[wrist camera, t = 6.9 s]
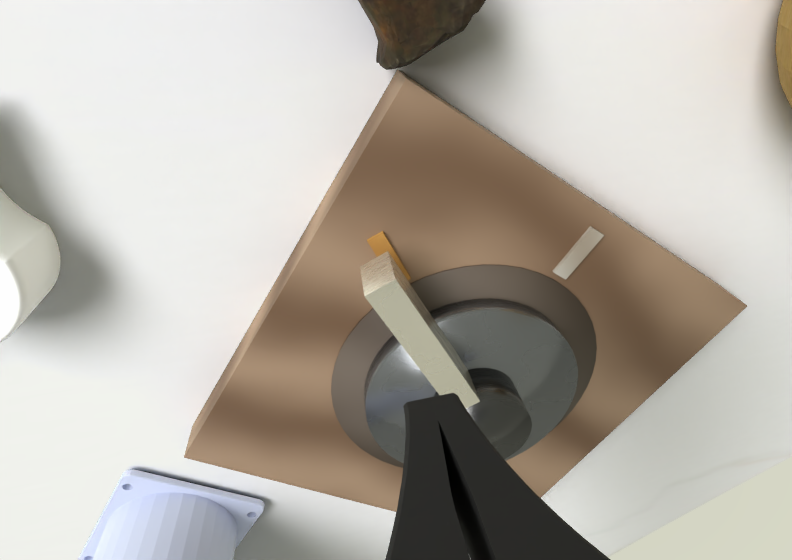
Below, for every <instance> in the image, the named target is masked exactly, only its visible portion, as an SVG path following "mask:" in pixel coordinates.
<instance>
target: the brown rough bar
mask: <svg viewBox="0 0 792 560" xmlns="http://www.w3.org/2000/svg"><path fill="white" fill-rule="evenodd" d="M358 1H359V3H360V4H361V6H362V8H363V9H364V11H365V13H366V14H367V16H368V18H369V20H370V21H371V23H372V25H373V27H374V30H375V33H376V36H377V39H378V48H377V57H376V61H377V63H379V64H380V66H382V67H383V68H385V69H386V70H389V69H396V68H399V67H402V66H405V65H408V64H410V63H412V62H413V61H415V60H417V59H418V58H420V57H421V56H423V55H424V54H426V53H427V52H429V51H430V50H432V49H433V48H435V47H436V46H438V45H439V44H441V43H443V42H444V41H446V40H448V39H449V38H451V37H453V36H455V35H456V34H458V33H460V32H462V31H463V30H464V29H465V28H466V26H467V25H468V23H469V21H470V20H471V18H472V16H473V15H474V14H476V13H477V12H479V10H480V8H481V7H482V5H483V4H484V2H485V1H486V0H358Z"/></svg>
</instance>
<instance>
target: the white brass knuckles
mask: <svg viewBox="0 0 792 560" xmlns="http://www.w3.org/2000/svg"><path fill="white" fill-rule="evenodd" d="M60 265H61V258H60V251H59V247H58V243H57V241H56V238H55V236H54V234H53V232H52V230H51V228H50V226H49V225H48V224H47V223H45V222H43V221H41V220H39V219H37V218H35V217H33V216H32V215H30V214H29V213H27V212H26V211H24V210H23V209H22V208H20V207H19V206H18V205H17V204H16V203H14V202H13V201H12V200H11V199H10V198H9V197H8V196H7V195H6V194H5V193H4V191H3V190H2V189H1V188H0V342H2V341H4V340H5V339H7V338H8V337H9V336H10V335H12V334H13V333H14V332H15V331H16V330H17V329H18V327H19V326H20V325H21V324H22V323H23V322H24V321H25V319H26V318H27V317H28V316H29V315H30V314H31V312H32V311H33V310H34V309H35V308H36V307H37V305H38V304H39V303H40V302H41V301H42V300H43V299H44V297H45V296H46V295H47V294H48V293H49V292H50V290H51V289H52V288H53V286H54V285H55V283H56V281H57V279H58V276H59V272H60Z"/></svg>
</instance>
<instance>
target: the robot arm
mask: <svg viewBox="0 0 792 560" xmlns="http://www.w3.org/2000/svg"><path fill="white" fill-rule="evenodd" d="M403 408H404V414H405V428H406V435H405V454H404V464H403V474H402V482H401V488H400V494H399V500H398V506H397V512H396V517H395V522H394V526H393V531H392V535H391V539H390V544H389V548H388V552H387V556H386V559H385V560H470V559H471V560H610V559H609V558H608V557H606V556H605V555H604V554H603V553H602V552H600V551H599V550H598V549H597V548H595V547H594V546H593V545H592V544H590V543H589V542H588V541H587V540H586V539H584V538H583V537H582V536H581V535H579V534H578V533H577V532H576V531H575V530H574V529H573V528H572V527H570V526H569V525H568V524H567V523H566V522H565V521H564V520H563V519H562V518H560V517H559V516H558V515H557V514H556V513H555V512H554V511H553V510H552V509H551V508H550V507H549V506H548V505H547V504H546V503H545V502H544V501H543V500H542V499H541V498H540V497H539V496H538V495H537V494H536V493H535V492H534V491H533V490H532V489H531V488H530V487H529V486H528V485H527V484H526V483H525V482H524V481H523V480H522V479H521V478H520V476H519V475H518V474H517V473H516V472H515V471H514V470H513V469H512V468H511V467H510V465H509V464H508V463H507V462H506V461H505V460H504V458H503V457H502V456H501V455H500V454H499V452H498V451H497V450H496V449H495V448H494V446H493V445H492V444H491V443H490V441H489V440H488V439H487V438H486V436H485V435H484V434H483V432H482V431H481V430H480V428H479V427H478V426H477V424H476V423H475V422H474V420H473V419H472V417H471V416H470V414H469V413H468V411H467V410H466V408H465V407H464V405H463V403H462V402H461V400H460V398H459V397H458V395H456V394H455V393H449V394H444V395H439V396H434V397H429V398H424V399H419V400H414V401H409V402H407V403H406V404H405V405H404V406H403ZM264 506H265V504H264V502H263V501H262V500H260V499H256V498H252V497H248V496H244V495H239V494H235V493H231V492H227V491H223V490H218V489H214V488H210V487H206V486H202V485H197V484H193V483H189V482H185V481H181V480H176V479H172V478H168V477H164V476H159V475H155V474H151V473H147V472H143V471H138V470H133V469H132V470H127V471H125V472H124V473H123V474H122V476H121V478H120V480H119V482H118V484H117V486H116V488H115V489H114V491H113V493H112V495H111V497H110V499H109V501H108V503H107V505H106V507H105V509H104V511H103V512H102V514H101V516H100V518H99V520H98V522H97V524H96V526H95V528H94V530H93V532H92V534H91V535H90V537H89V539H88V541H87V543H86V545H85V547H84V549H83V551H82V553H81V555H80V557H79V558H78V560H233V559H234V552H235V549H236V548H237V546H238V545H239V544H240V542H241V541H242V539H243V538H244V537H245V535H246V534H247V533H248V531H249V530H250V529H251V527H252V526H253V524H254V523H255V522H256V520H257V519H258V518H259V516H260V515H261V514H262V512H263V511H264ZM468 553H469V554H468ZM469 556H470V557H469Z"/></svg>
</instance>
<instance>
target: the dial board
mask: <svg viewBox="0 0 792 560" xmlns="http://www.w3.org/2000/svg"><path fill="white" fill-rule="evenodd" d="M387 251H388V252H389V254H390V255H391V256H392V258H393V259H394V261H395V262H396V264H397V265H398V267H399V268H400V270H401V271H402V273H403V274H404V276H405V277H406V279H407V280H408V282H409V283H410V285H411V286H412V288H413V289H414V290H415V292H416V293H417V295H418V296H419V298H420V299H421V301H422V302H423V304H424V305H425V307H426V308H427V310H428V311H431V310H433V309H436V308H439V307H442V306H444V305H447V304H451V303H455V302H459V301H464V300H472V299H490V298H493V299H503V300H509V301H514V302H518V303H521V304H524V305H527V306H529V307H532V308H534V309H535V310H537V311H539V312H541V313H542V314H544V315H545V316H546V317H547V318H549V319H550V320H551V321H552V322H553V323H554V324H555V326H556V327H557V328H558V329H559V330H560V332H561V333H562V335H563V336H564V338H565V339H566V340H567V342H568V343H569V345H570V347H571V348H572V350H573V352H574V355H575V358H576V361H577V367H578V382H577V388H576V392H575V395H574V398H573V400H572V402H571V404H570V406H569V408H568V410H567V412H566V413H565V415H564V416H563V418H562V419H561V420H560V422H559V423H558V424H557V425H556V426H555V427H554V429H553V430H551V431H550V432H549V433H548V434H547V435H546V436H545V437H544V438H543V439H541V440H540V441H539V442H538V443H536V444H535V445H534V446H532V447H530V448H529V449H527V450H526V451H524V452H522V453H520V454H519V455H517V456H515V457H513V458H510V459H508V460H506V462H507V463H508V464H509V465H510V467H511V468H512V469H513V470H514V471H515V472H516V473H517V474H518V475H519V476H520V478H521V479H522V480H523V481H524V482H525V483H526V484H527V485H528V486H529V487H530V488H531V489H532V490H533V491H534V492H535V493H536V494H537V495H538V496H539V497H540V498H541V497H542V496H543V495H544V494H545V493H546V492H547V491H548V490H549V489H550V488H551V487H553V486H554V485H555V484H556V483H557V482H558V481H559V480H560V479H561V478H562V477H563V476H564V475H566V474H567V473H568V472H569V471H570V470H571V469H572V468H573V467H574V466H575V465H576V464H577V463H578V462H580V461H581V460H582V459H583V458H584V457H585V456H586V455H587V454H588V453H589V452H590V451H591V450H592V449H594V448H595V447H596V446H597V445H598V444H599V443H600V442H601V441H602V440H603V439H604V438H605V437H607V436H608V435H609V434H610V433H611V432H612V431H613V430H614V429H615V428H616V427H617V426H618V425H619V424H621V423H622V422H623V421H624V420H625V419H626V418H627V417H628V416H629V415H630V414H631V413H632V412H634V411H635V410H636V409H637V408H638V407H639V406H640V405H641V404H642V403H643V402H644V401H645V400H646V399H648V398H649V397H650V396H651V395H652V394H653V393H654V392H655V391H656V390H657V389H658V388H659V387H661V386H662V385H663V384H664V383H665V382H666V381H667V380H668V379H669V378H670V377H671V376H672V375H673V374H675V373H676V372H677V371H678V370H679V369H680V368H681V367H682V366H683V365H684V364H685V363H686V362H687V361H689V360H690V359H691V358H692V357H693V356H694V355H695V354H696V353H697V352H698V351H699V350H700V349H702V348H703V347H704V346H705V345H706V344H707V343H708V342H709V341H710V340H711V339H712V338H713V337H714V336H716V335H717V334H718V333H719V332H720V331H721V330H722V329H723V328H724V327H725V326H726V325H727V324H729V323H730V322H731V321H732V320H733V319H734V318H735V317H736V316H737V315H738V314H739V313H740V312H741V311H743V310H744V309H745V308H746V307H747V305H746V304H744V303H743V302H742V301H740V300H739V299H738V298H736V297H735V296H733V295H732V294H731V293H729V292H728V291H727V290H725V289H724V288H723V287H721V286H720V285H719V284H717V283H716V282H714V281H713V280H711V279H710V278H708V277H707V276H705V275H704V274H702V273H701V272H699V271H698V270H696V269H695V268H693V267H692V266H690V265H689V264H687V263H686V262H684V261H683V260H681V259H680V258H678V257H677V256H675V255H674V254H672V253H671V252H669V251H668V250H666V249H665V248H663V247H662V246H660V245H659V244H658V243H656V242H655V241H653V240H652V239H650V238H649V237H647V236H646V235H644V234H643V233H641V232H640V231H638V230H637V229H635V228H634V227H632V226H631V225H629V224H628V223H626V222H625V221H623V220H622V219H620V218H619V217H617V216H616V215H614V214H613V213H611V212H610V211H608V210H607V209H605V208H604V207H602V206H601V205H599V204H598V203H596V202H595V201H593V200H592V199H590V198H589V197H587V196H586V195H584V194H583V193H581V192H580V191H578V190H577V189H575V188H574V187H572V186H571V185H569V184H568V183H566V182H565V181H563V180H562V179H560V178H559V177H557V176H556V175H555V174H553V173H552V172H550V171H549V170H547V169H546V168H544V167H543V166H541V165H540V164H538V163H537V162H535V161H534V160H532V159H531V158H529V157H528V156H526V155H525V154H523V153H522V152H520V151H519V150H517V149H516V148H514V147H513V146H511V145H510V144H508V143H507V142H505V141H504V140H502V139H501V138H499V137H498V136H496V135H495V134H493V133H492V132H490V131H489V130H487V129H486V128H484V127H483V126H481V125H480V124H478V123H477V122H475V121H474V120H472V119H471V118H469V117H468V116H466V115H465V114H463V113H462V112H460V111H459V110H457V109H456V108H454V107H453V106H451V105H450V104H449V103H447V102H446V101H444V100H443V99H441V98H440V97H438V96H437V95H435V94H434V93H432V92H431V91H429V90H428V89H426V88H425V87H423V86H422V85H420V84H419V83H417V82H416V81H414V80H413V79H411V78H410V77H408V76H407V75H405V74H404V73H402V72H401V71H399V70H397V71H396V73H395V75H394V77H393V78H392V80H391V82H390V83H389V85H388V87H387V89H386V90H385V92H384V94H383V96H382V97H381V99H380V101H379V103H378V104H377V106H376V108H375V110H374V111H373V113H372V115H371V117H370V118H369V120H368V122H367V123H366V125H365V127H364V129H363V130H362V132H361V134H360V136H359V137H358V139H357V141H356V143H355V144H354V146H353V148H352V150H351V151H350V153H349V155H348V157H347V158H346V160H345V162H344V163H343V165H342V167H341V169H340V170H339V172H338V174H337V176H336V177H335V179H334V181H333V183H332V184H331V186H330V188H329V190H328V191H327V193H326V195H325V196H324V198H323V200H322V202H321V203H320V205H319V207H318V209H317V210H316V212H315V214H314V216H313V217H312V219H311V221H310V223H309V224H308V226H307V228H306V230H305V231H304V233H303V235H302V236H301V238H300V240H299V242H298V243H297V245H296V247H295V249H294V250H293V252H292V254H291V256H290V257H289V259H288V261H287V263H286V264H285V266H284V268H283V270H282V271H281V273H280V275H279V276H278V278H277V280H276V282H275V283H274V285H273V287H272V289H271V290H270V292H269V294H268V296H267V297H266V299H265V301H264V303H263V304H262V306H261V308H260V310H259V311H258V313H257V315H256V316H255V318H254V320H253V322H252V323H251V325H250V327H249V329H248V330H247V332H246V334H245V336H244V337H243V339H242V341H241V343H240V344H239V346H238V348H237V349H236V351H235V353H234V355H233V356H232V358H231V360H230V362H229V363H228V365H227V367H226V369H225V370H224V372H223V374H222V376H221V377H220V379H219V381H218V383H217V384H216V386H215V388H214V389H213V391H212V393H211V395H210V396H209V398H208V400H207V402H206V403H205V405H204V407H203V409H202V410H201V412H200V414H199V416H198V417H197V419H196V421H195V423H194V424H193V426H192V430H191V434H190V437H189V441H188V444H187V448H186V452H185V455H184V458H188V459H192V460H196V461H200V462H204V463H208V464H212V465H215V466H219V467H223V468H227V469H231V470H235V471H239V472H243V473H247V474H251V475H254V476H258V477H262V478H266V479H270V480H274V481H278V482H282V483H286V484H290V485H294V486H297V487H301V488H305V489H309V490H313V491H317V492H321V493H325V494H329V495H333V496H336V497H340V498H344V499H348V500H352V501H356V502H360V503H364V504H368V505H372V506H375V507H379V508H383V509H387V510H391V511H395V512H397V506H398V500H399V494H400V488H401V482H402V474H403V464H404V463H402V462H400V461H398V460H396V459H395V458H393V457H392V456H390V455H389V454H387V453H386V452H385V451H384V450H383V449H382V448H381V447H380V446H379V445H378V443H377V442H376V441H375V439H374V438H373V436H372V434H371V432H370V430H369V426H368V423H367V418H366V410H365V401H364V385H365V381H366V376H367V373H368V371H369V368H370V366H371V363H372V362H373V360H374V358H375V356H376V355H377V353H378V352H379V350H380V349H381V348H382V347H383V345H384V344H385V343H386V342H387V341H388V340H389V339H390V338H391V337H392V336H393V333H392V332H391V331H390V329H389V328H388V327H387V325H386V324H385V323H384V321H383V320H382V319H381V317H380V316H379V315H378V314H377V312H376V311H375V310H374V308H373V307H372V306H371V304H370V303H369V302H368V300H367V299H366V298H365V296H364V290H363V283H362V277H361V271H360V267H361V266H363V265H364V264H366V263H368V262H370V261H371V260H373V259H375V258H376V257H378V256H380V255H382V254H383V253H385V252H387Z"/></svg>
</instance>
